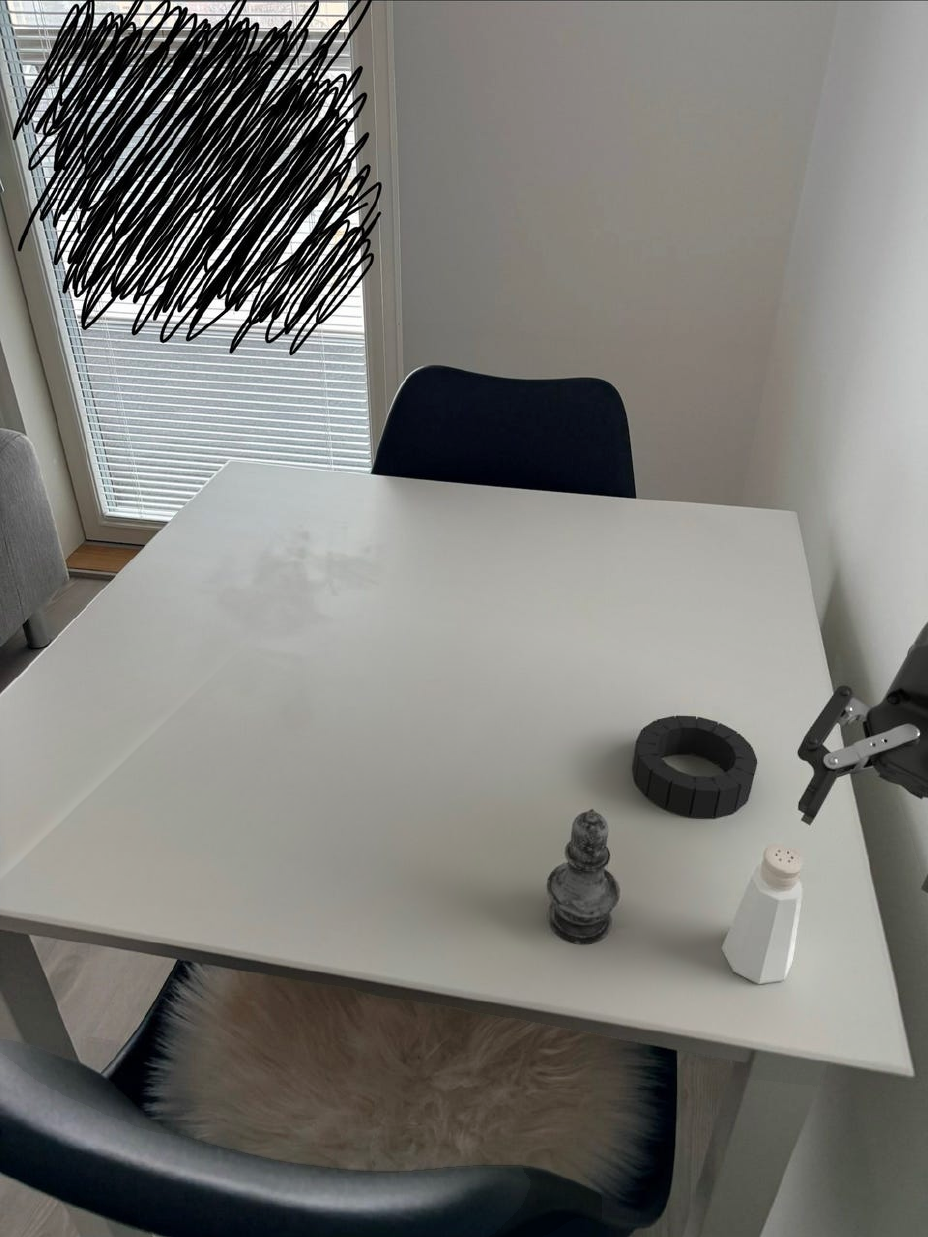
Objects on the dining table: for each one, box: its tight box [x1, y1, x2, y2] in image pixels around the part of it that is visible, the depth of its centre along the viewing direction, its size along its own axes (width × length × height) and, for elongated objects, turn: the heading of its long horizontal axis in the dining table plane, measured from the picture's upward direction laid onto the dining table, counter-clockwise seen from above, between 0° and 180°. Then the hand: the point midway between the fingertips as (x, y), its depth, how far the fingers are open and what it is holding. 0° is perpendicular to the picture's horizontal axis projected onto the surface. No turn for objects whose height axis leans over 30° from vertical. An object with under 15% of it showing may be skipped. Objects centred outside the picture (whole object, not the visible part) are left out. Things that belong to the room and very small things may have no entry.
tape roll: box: [631, 715, 758, 820], centre depth 87 cm, size 12×12×4 cm
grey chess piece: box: [546, 808, 621, 945], centre depth 69 cm, size 6×6×12 cm
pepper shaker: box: [721, 843, 805, 985], centre depth 67 cm, size 5×5×11 cm
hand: (867, 854), depth 60 cm, fingers open, 8 cm apart
